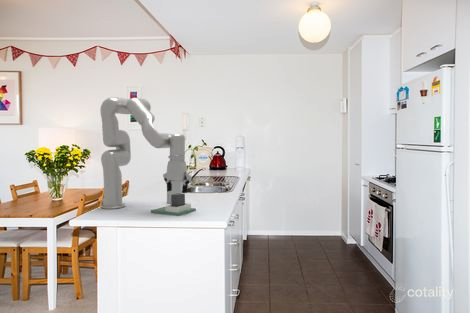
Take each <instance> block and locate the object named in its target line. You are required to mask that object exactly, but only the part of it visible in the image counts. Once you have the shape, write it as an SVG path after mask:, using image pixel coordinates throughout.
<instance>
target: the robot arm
mask: <svg viewBox="0 0 470 313" xmlns="http://www.w3.org/2000/svg"><path fill="white" fill-rule="evenodd" d="M99 110H100V117H101V124H102V125H101V127H102V128H101V129H102V130H101V131H102V141H103V145H104V146H105V147H107V148H115V149H108V150H105V151H103V153H102V154H101V157H100V162H101V166H102V173H103V198H102V199H100V201H99V202H100V203H102V204H101V209H104V210H114V209H122V208H124V207H126V203H123V182H122V181H123V179H122V177H123V176H122V170H121V169H120V167H125V166H127V165H128V164H129V163H130V162H131V158H132V157H131V156H132V154H131V139H130V136H129V134H128V132H127V131H125V130H122V129H120V128H119V119H118V118H117V116H116V114H120V115H131V116H132V117H133V118H134V119H135V120H136V121H137V123H138V124H139V125H140V127H141V131H142V135H143V137H144V138H145V139H146V141H147V142H148V144H150V145H151V146H152V147H153V148H155V149H168V148H169V155H168V159H169V160H168V163H167V167H166V172H165V173H163V174H162V177H163V179H164V181H165V184H166V192H167V191H172V183H171V182H172V181H182V194H186V193H188V185H189V184H190V183H191V181H192V177H193V176H191V175H190V174H189V173H188V167H187V162H186V160H185V158H186V156H185V155H186V154H185V153H186V150H185V149H186V136H185V134H180V133H179V134H178V133H173V134H172V133H165V132H164V133H163V132H158V130H157V129H156V128H155V127H154V122H155V119H156V118H155V115H154V114H153V113H152V112H151V103H150V102H149V101H148V100H147V99H145V98H140V97H139V98H138V97H131V98H122V97H115V96H114V97H107V98H106V99H104V100H103V102H102V103H101V105H100V109H99Z"/></svg>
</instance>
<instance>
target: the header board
mask: <svg viewBox="0 0 470 313" xmlns="http://www.w3.org/2000/svg"><path fill="white" fill-rule="evenodd" d="M196 211H197V209H196V208H194V207H192V203H187V202H185V205H183V206H179V207H171V204H168V205H165V206H162V207H158V208H154V209H152V210H150V213H151V214H160V215H161V214H162V215H168V214H169V215H171V216H176V217H180V216H184V215H186V214H189V213H193V212H196Z"/></svg>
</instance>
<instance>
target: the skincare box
mask: <svg viewBox="0 0 470 313" xmlns="http://www.w3.org/2000/svg"><path fill="white" fill-rule="evenodd" d="M171 183H172V191H167V190H166V204H168V205H171V195H173V194H177V193H182V186H183V183H182V181H172V182H171ZM182 194H183V193H182Z"/></svg>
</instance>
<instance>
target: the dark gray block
mask: <svg viewBox="0 0 470 313" xmlns="http://www.w3.org/2000/svg"><path fill="white" fill-rule="evenodd" d="M185 203H186V193H177V194H173V195H171V204H170V205H171V207H179V206H183V205H185Z"/></svg>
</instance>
